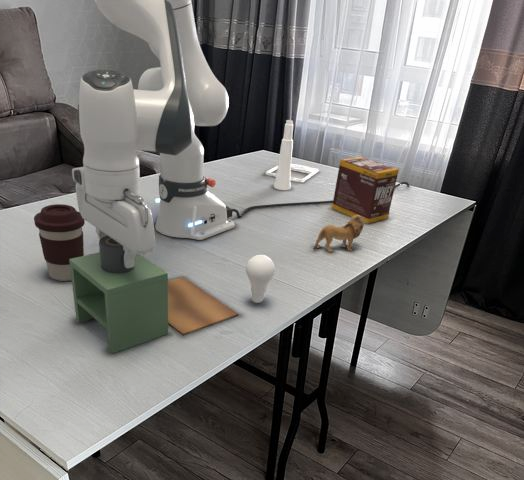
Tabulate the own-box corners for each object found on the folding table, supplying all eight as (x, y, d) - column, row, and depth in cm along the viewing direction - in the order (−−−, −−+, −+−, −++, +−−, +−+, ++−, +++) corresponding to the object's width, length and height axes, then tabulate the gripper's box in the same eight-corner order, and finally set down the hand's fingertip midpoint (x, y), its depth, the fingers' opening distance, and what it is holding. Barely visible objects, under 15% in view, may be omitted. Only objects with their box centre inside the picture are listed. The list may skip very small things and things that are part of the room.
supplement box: (368, 224, 165) (378, 172, 157) (331, 208, 174) (339, 159, 166) (388, 218, 171) (400, 168, 163) (352, 203, 180) (361, 155, 172)
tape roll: (124, 256, 101) (123, 232, 99) (141, 268, 98) (140, 243, 95) (94, 263, 98) (92, 238, 95) (111, 276, 94) (109, 250, 91)
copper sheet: (182, 278, 124) (182, 276, 124) (238, 315, 113) (238, 313, 112) (129, 293, 116) (129, 292, 116) (182, 335, 104) (182, 333, 104)
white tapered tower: (274, 184, 191) (281, 117, 178) (291, 186, 190) (299, 120, 178) (272, 189, 186) (279, 121, 173) (289, 191, 185) (298, 123, 173)
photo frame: (318, 168, 208) (302, 179, 194) (318, 171, 209) (302, 182, 195) (283, 161, 212) (265, 171, 198) (283, 164, 213) (265, 174, 199)
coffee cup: (64, 289, 115) (55, 221, 107) (32, 275, 119) (22, 209, 111) (99, 274, 122) (93, 209, 114) (68, 261, 126) (60, 198, 118)
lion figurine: (353, 242, 152) (359, 211, 147) (363, 250, 148) (370, 218, 143) (308, 247, 146) (312, 215, 141) (318, 255, 142) (323, 222, 137)
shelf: (130, 303, 113) (127, 245, 105) (168, 333, 104) (167, 273, 97) (76, 320, 105) (69, 259, 98) (112, 353, 97) (107, 289, 90)
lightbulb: (242, 295, 120) (246, 249, 114) (269, 296, 121) (274, 250, 115) (244, 308, 115) (247, 261, 109) (272, 310, 116) (277, 263, 110)
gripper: (164, 197, 85) (164, 276, 93) (100, 163, 97) (105, 236, 105) (128, 203, 81) (132, 285, 89) (66, 167, 93) (75, 242, 101)
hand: (117, 258), depth 97 cm, fingers closed on tape roll, 6 cm apart
